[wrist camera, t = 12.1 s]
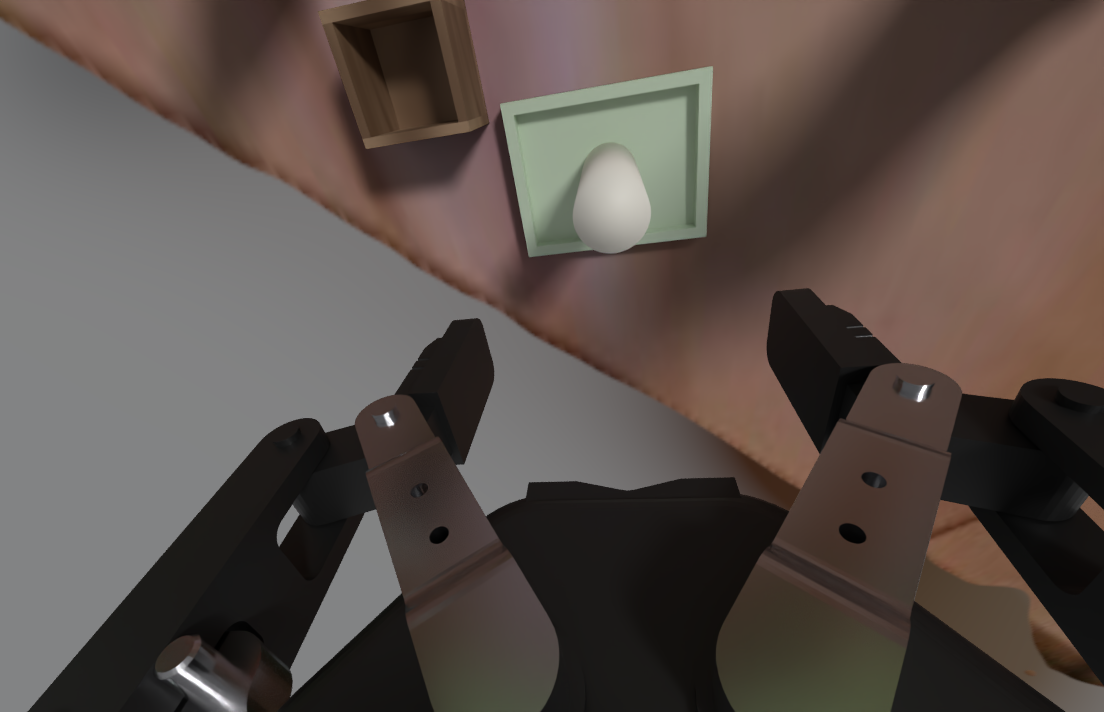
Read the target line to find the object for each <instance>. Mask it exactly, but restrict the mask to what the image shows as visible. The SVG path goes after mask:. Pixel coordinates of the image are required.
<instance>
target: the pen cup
mask: <svg viewBox="0 0 1104 712" xmlns="http://www.w3.org/2000/svg"><path fill="white" fill-rule="evenodd" d="M318 13H319V16H320V19H321V22H322V25H323V28H324V30H325V33H326V36H327V39H328V42H329V45H330V48H331V50H332V53H333V56H334V59H335V62H336V65H337V68H338V71H339V73H340V76H341V79H342V82H343V85H344V88H345V91H346V93H347V96H348V99H349V102H350V105H351V108H352V111H353V113H354V116H355V119H356V122H357V125H358V128H359V131H360V134H361V136H362V139H363V142H364V145H365V148H366V149H370V148H376V147H382V146H387V145H393V144H399V143H405V142H411V141H417V140H423V139H429V138H435V137H441V136H447V135H453V134H459V133H465V132H470V131H473V130H475V129H477V128H479V127H482V126H484V125H486V124H488V123H489V120H488V115H487V110H486V105H485V100H484V95H483V90H482V86H481V81H480V76H479V71H478V66H477V61H476V56H475V51H474V46H473V41H472V37H471V32H470V27H469V22H468V17H467V12H466V7H465V2H464V0H366V1H361V2H357V3H353V4H348V5H344V6H340V7H335V8H331V9H327V10H322V11H318Z"/></svg>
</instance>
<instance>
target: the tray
mask: <svg viewBox="0 0 1104 712" xmlns="http://www.w3.org/2000/svg"><path fill="white" fill-rule="evenodd" d="M712 77H713V66H712V67H704V68H698V69H692V70H687V71H681V72H675V73H670V74H664V75H658V76H653V77H647V78H642V79H636V80H630V81H625V82H619V83H613V84H608V85H602V86H596V87H591V88H585V89H580V90H574V91H568V92H563V93H557V94H551V95H546V96H540V97H534V98H529V99H523V100H518V101H512V102H506V103H502V104H500V107H501V112H502V117H503V123H504V128H505V133H506V138H507V144H508V149H509V154H510V160H511V165H512V170H513V176H514V181H515V186H516V191H517V197H518V202H519V207H520V213H521V218H522V223H523V229H524V234H525V239H526V244H527V250H528V255H529V257H535V256H544V255H552V254H561V253H570V252H578V251H587V250H593V249H591V248H590V247H588V246H587V245H586V244H584V243H583V242H582V240H581V239H580V238H579V236H578V235H577V233H576V231H575V228H574V224H573V208H574V204H575V199H576V195H577V191H578V186H579V182H580V178H581V173H582V169H583V165H584V162H585V159H586V157H587V156H588V154H589V153H590V152H591V151H592V150H593V149H594V148H595V147H597V146H598V145H600V144H603V143H608V142H615V143H619V144H621V145H623V146H625V147H626V148H627V149H628V150H629V151H630V152H631V153H632V155H633V156H634V159H635V161H636V164H637V167H638V170H639V173H640V176H641V178H642V181H643V184H644V187H645V190H646V193H647V196H648V198H649V202H650V206H651V218H650V223H649V226H648V229H647V231H646V232H645V234H644V236H643V237H642V238H641V240H640V241H639V242H638V243H636V244H635V245H639V244H647V243H656V242H664V241H673V240H682V239H690V238H699V237H706V234H707V208H708V182H709V156H710V129H711V103H712Z"/></svg>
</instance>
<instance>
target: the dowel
mask: <svg viewBox="0 0 1104 712" xmlns="http://www.w3.org/2000/svg"><path fill="white" fill-rule="evenodd" d="M650 218H651V206H650V202H649V198H648V196H647V193H646V190H645V187H644V184H643V181H642V178H641V176H640V173H639V170H638V167H637V164H636V161H635V159H634V156H633V155H632V153H631V152H630V151H629V150H628V149H627V148H626V147H625V146H623V145H621V144H619V143H615V142H608V143H603V144H600V145H598V146H597V147H595V148H594V149H593V150H592V151H591V152H590V153H589V154H588V156H587V157H586V159H585V162H584V165H583V169H582V173H581V178H580V182H579V186H578V191H577V195H576V199H575V204H574V208H573V224H574V228H575V231H576V233H577V235H578V236H579V238H580V239H581V240H582V242H583V243H584V244H586V245H587V246H588V247H590V248H591V249H593V250H595V251H598V252H601V253H609V254H610V253H619V252H622V251H625V250H627V249H629V248H631V247H633V246H634V245H635V244H636V243H638V242H639V241H640V240H641V238H642V237H643V236H644V234H645V232H646V231H647V229H648V226H649V223H650Z"/></svg>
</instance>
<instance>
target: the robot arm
mask: <svg viewBox="0 0 1104 712" xmlns="http://www.w3.org/2000/svg"><path fill="white" fill-rule="evenodd" d="M767 357H768V361H769V364H770V367H771V368H772V370H773V372H774V374H775V375H776V377H777V379H778V381H779V383H780V384H781V386H782V388H783V390H784V391H785V393H786V395H787V397H788V399H789V400H790V402H791V404H792V406H793V407H794V409H795V411H796V413H797V415H798V416H799V418H800V420H801V422H802V423H803V425H804V427H805V429H806V430H807V432H808V434H809V436H810V438H811V439H812V441H813V443H814V445H815V446H816V448H817V450H818V452H819V454H820V455H819V457H818V459H817V461H816V463H815V465H814V467H813V468H812V470H811V472H810V474H809V476H808V478H807V480H806V481H805V483H804V485H803V487H802V489H801V491H800V493H799V495H798V496H797V498H796V500H795V502H794V504H793V506H792V507H791V509H790V511H787V510H785V509H783V508H781V507H779V506H777V505H775V504H772V503H769V502H767V501H764V500H761V499H758V498H755V497H751V496H747V495H742V494H740V492H739V489H738V486H737V483H736V480H735V478H734V477H730V478H691V479H678V480H674V481H669V482H665V483H661V484H657V485H653V486H649V487H644V488H640V489H636V490H630V491H626V490H619V489H614V488H609V487H603V486H598V485H593V484H588V483H582V482H577V481H569V482H532V483H530V482H529V484H528V490H527V496H526V498H525V499H521V500H518V501H515V502H512V503H509V504H507V505H505V506H503V507H501V508H499V509H497V510H495V511H494V512H492V513H490V514H489V515H487V516H485V514H484V513H483V511H482V509H481V507H480V506H479V504H478V502H477V501H476V499H475V498H474V495H473V494H472V492H471V490H470V489H469V487H468V486H467V484H466V482H465V480H464V479H463V477H462V475H461V474H460V472H459V470H458V468H457V467H456V465H457V464H464V463H465V461H466V458H467V455H468V452H469V449H470V446H471V444H472V441H473V438H474V435H475V432H476V430H477V427H478V424H479V421H480V419H481V416H482V413H483V410H484V407H485V404H486V402H487V399H488V396H489V393H490V391H491V388H492V385H493V381H494V366H493V361H492V357H491V354H490V350H489V347H488V343H487V339H486V336H485V332H484V328H483V325H482V323H481V321H480V319H478V318H476V319H465V320H454V321H452V323H451V324H450V326H449V328H448V329H447V331H446V332H445V334H444V336H443V337H442V338H437V339H436V340H435V341H433V342H432V343H431V344H429V345H428V346H427V347H426V348H425V349H424V350H423V352H422V353H421V355H420V357H419V358H418V361H416V362H415V364H414V366H413V367H412V370H410V372H409V373H408V375H407V376H406V378H405V379H404V381H403V382H402V384H401V386H400V387H399V389H398V390H397V392H396V393H395V395H391V396H387V397H384V398H381V399H379V400H377V401H374V402H373V403H371V404H370V405H368V406H367V407H365V408H364V409H363V410H362V411H361V412H360V413H359V415H358V416H357V418H356V420H355V425H353V426H349V427H345V428H342V429H338V430H334V431H330V432H327V433H325V432H324V430H323V428H322V426H321V425H320V423H319V422H318V421H317V420H315V419H312V418H303V419H298V420H294V421H291V422H288V423H286V424H283V425H282V426H280V427H278V428H276V429H274V430H273V431H272V432H270V433H269V434H268V435H266V436H265V437H264V438H263V439H262V440H261V441H260V442H259V443H258V445H257V446H256V447H255V448H254V449H253V450H252V452H251V453H250V454H249V455H248V456H247V458H246V459H245V460H244V461H243V462H242V463H241V464H240V466H239V467H238V468H237V469H236V470H235V471H234V473H233V474H232V475H231V476H230V477H229V478H228V479H227V481H226V482H225V483H224V484H223V485H222V486H221V488H220V489H219V490H218V491H217V492H216V493H215V495H214V496H213V497H212V498H211V499H210V501H209V502H208V503H207V504H206V505H205V506H204V507H203V509H202V510H201V511H200V512H199V513H198V514H197V515H196V517H195V518H194V519H193V520H192V521H191V523H190V524H189V525H188V526H187V527H186V528H185V530H184V531H183V532H182V533H181V534H180V535H179V536H178V538H177V539H176V540H175V541H174V542H173V543H172V545H171V546H170V547H169V548H168V549H167V550H166V552H165V553H164V554H163V555H162V556H161V557H160V558H159V560H158V561H157V562H156V563H155V564H154V565H153V567H152V568H151V569H150V570H149V571H148V572H147V574H146V575H145V576H144V577H143V578H142V579H141V581H140V582H139V583H138V584H137V585H136V586H135V588H134V589H133V590H132V591H131V592H130V593H129V595H128V596H127V597H126V598H125V599H124V600H123V601H122V603H121V604H120V605H119V606H118V607H117V608H116V610H115V611H114V612H113V613H112V614H111V615H110V617H109V618H108V619H107V620H106V621H105V623H104V624H103V625H102V626H101V627H100V628H99V629H98V631H97V632H96V633H95V634H94V635H93V636H92V638H91V639H90V640H89V641H88V642H87V643H86V645H85V646H84V647H83V648H82V649H81V650H80V651H79V653H78V654H77V655H76V656H75V657H74V658H73V660H72V661H71V662H70V663H69V664H68V665H67V667H66V668H65V669H64V670H63V671H62V672H61V674H60V675H59V676H58V677H57V678H56V679H55V680H54V682H53V683H52V684H51V685H50V686H49V687H48V689H47V690H46V691H45V692H44V693H43V695H42V696H41V697H40V698H39V699H38V700H37V701H36V703H35V704H34V705H33V706H32V707H31V708H30V710H29V711H28V712H1065V711H1064V710H1062V709H1061V708H1060V707H1058V706H1057V705H1055V704H1054V703H1053V702H1051V701H1050V700H1049V699H1047V698H1046V697H1045V696H1043V695H1042V694H1040V693H1039V692H1038V691H1036V690H1035V689H1034V688H1032V687H1031V686H1029V685H1028V684H1027V683H1025V682H1024V681H1023V680H1021V679H1020V678H1019V677H1017V676H1016V675H1015V674H1013V673H1012V672H1010V671H1009V670H1008V669H1006V668H1005V667H1004V666H1002V665H1001V664H1000V663H998V662H997V661H995V660H994V659H992V658H991V657H990V656H989V655H987V654H986V653H985V652H983V651H982V650H980V649H979V648H978V647H976V646H975V645H974V644H972V643H971V642H969V641H968V640H967V639H965V638H964V637H962V636H961V635H960V634H959V633H957V632H956V631H955V630H953V629H952V628H950V627H949V626H948V625H946V624H945V623H944V622H942V621H941V620H939V619H938V618H937V617H935V616H934V615H933V614H931V613H930V612H929V611H927V610H926V609H925V608H923V607H922V606H920V605H919V604H918V603H916V602H915V601H914V598H915V595H916V591H917V587H918V583H919V579H920V575H921V572H922V568H923V564H924V560H925V556H926V552H927V548H928V544H929V541H930V537H931V533H932V529H933V525H934V521H935V517H936V513H937V510H938V506H939V502H940V500H944V501H949V502H954V503H959V504H964V505H968V506H969V507H970V509H971V510H972V511H973V513H974V514H975V515H976V517H977V518H978V519H979V521H980V522H981V523H982V525H983V526H984V527H985V529H986V530H987V531H988V533H989V534H990V535H991V537H992V538H993V539H994V541H995V542H996V543H997V545H998V546H999V547H1000V549H1001V550H1002V551H1003V553H1004V554H1005V555H1006V557H1007V558H1008V559H1009V561H1010V562H1011V563H1012V565H1013V566H1014V567H1015V569H1016V570H1017V571H1018V572H1019V574H1020V575H1021V576H1022V578H1023V579H1024V580H1025V582H1026V583H1027V584H1028V586H1029V587H1030V588H1031V590H1032V591H1033V592H1034V594H1035V595H1036V596H1037V598H1038V599H1039V600H1040V602H1041V603H1042V604H1043V606H1044V607H1045V608H1046V610H1047V611H1048V612H1049V614H1050V615H1051V616H1052V618H1053V619H1054V620H1055V622H1056V623H1057V624H1058V626H1059V627H1060V628H1061V630H1062V631H1063V632H1064V633H1065V635H1066V636H1067V637H1068V639H1069V640H1070V641H1071V643H1072V644H1073V645H1074V647H1075V648H1076V649H1077V651H1078V652H1079V653H1080V655H1081V656H1082V657H1083V659H1084V660H1085V661H1086V663H1087V664H1088V665H1089V667H1090V668H1091V669H1092V671H1093V672H1094V673H1095V675H1096V676H1097V677H1098V679H1099V680H1100V681H1101V683H1102V684H1103V685H1104V531H1103V530H1102V529H1101V528H1100V527H1099V526H1098V525H1097V524H1096V523H1095V522H1094V521H1093V520H1092V519H1091V518H1090V517H1089V516H1088V515H1087V514H1086V513H1085V512H1084V511H1083V510H1082V509H1081V508H1080V507H1081V505H1082V504H1083V503H1084V501H1085V500H1086V499H1087V497H1088V496H1090V497H1091V498H1092V499H1093V500H1094V501H1095V502H1096V503H1097V504H1098V505H1099V506H1101V507H1102V508H1103V509H1104V389H1103V388H1100V387H1097V386H1094V385H1090V384H1087V383H1082V382H1078V381H1072V380H1066V379H1056V378H1045V379H1036V380H1031V381H1029V382H1026V383H1025V384H1023V386H1022V387H1021V389H1020V391H1019V393H1018V394H1017V396H1016V398H1015V400H1009V399H1001V398H993V397H984V396H976V395H968V394H962V390H961V388H960V386H959V385H958V384H957V383H956V382H955V381H954V380H953V379H951V378H950V377H948V376H947V375H945V374H943V373H941V372H939V371H936V370H934V369H931V368H928V367H924V366H920V365H914V364H907V363H901V362H900V361H899V360H898V359H897V358H896V357H895V356H894V355H893V354H892V353H891V352H890V351H889V350H888V349H887V348H886V347H885V346H884V345H883V344H882V343H881V342H880V341H879V340H878V339H877V338H876V337H873V336H872V333H871V332H870V331H869V330H868V329H867V328H866V327H863V325H862V324H861V323H860V322H859V321H858V320H857V319H856V318H855V317H854V316H853V315H852V314H851V313H849V312H847V311H844V310H842V309H840V308H838V307H836V306H834V305H827V306H826V305H825V304H824V303H823V302H822V301H821V300H820V299H819V298H818V297H817V296H816V295H815V293H814V292H813V291H812V290H811V289H809V288H806V289H795V290H784V291H777V292H776V293H775V294H774V296H773V300H772V307H771V315H770V322H769V330H768V338H767ZM292 504H293V505H294V507H295V508H296V510H297V511H298V512H299V514H300V515H299V516H298V518H297V520H296V521H295V523H294V524H293V526H292V527H291V529H290V531H289V532H288V534H287V535H286V537H285V539H284V540H283V542H282V544H281V545H280V547H279V546H278V544H277V530H278V527H279V525H280V522H281V520H282V519H283V518H284V516H285V515H286V513H287V512H288V510H289V509H290V507H291V506H292ZM375 509H376V510H377V513H378V516H379V519H380V523H381V526H382V529H383V532H384V536H385V539H386V542H387V545H388V549H389V552H390V555H391V558H392V562H393V565H394V568H395V571H396V575H397V578H398V581H399V584H400V588H401V591H402V594H401V595H400V596H398V597H397V598H396V599H395V600H394V601H393V602H392V603H391V604H390V605H389V606H388V607H387V608H386V609H384V610H383V611H382V612H381V613H380V614H379V615H378V616H377V617H376V618H375V619H374V620H373V621H372V622H371V623H370V624H368V625H367V626H366V627H365V628H364V629H363V630H362V631H361V632H360V633H359V634H358V635H357V636H356V637H354V638H353V639H352V640H351V641H350V642H349V643H348V644H347V645H346V646H345V647H344V648H343V649H342V650H341V651H339V652H338V653H337V654H336V655H335V656H334V657H333V658H332V659H331V660H330V661H329V662H328V663H327V664H326V665H324V666H323V667H322V668H321V669H320V670H319V671H318V672H317V673H316V674H315V675H314V676H313V677H312V678H310V679H309V680H308V681H307V682H306V683H305V684H304V685H303V686H302V687H301V688H300V689H299V690H298V691H297V692H295V693H294V695H292V696H291V692H292V683H293V680H292V674H291V671H290V668H291V666H292V663H293V662H294V660H295V657H296V655H297V653H298V651H299V649H300V647H301V645H302V643H303V640H304V639H305V637H306V634H307V632H308V630H309V628H310V626H311V624H312V622H313V620H314V618H315V616H316V614H317V612H318V609H319V607H320V605H321V603H322V601H323V599H324V597H325V595H326V593H327V591H328V588H329V586H330V584H331V582H332V580H333V578H334V576H335V574H336V572H337V570H338V568H339V566H340V563H341V561H342V559H343V557H344V555H345V553H346V551H347V548H348V547H349V545H350V543H351V540H352V538H353V536H354V534H355V532H356V530H357V528H358V526H359V524H360V521H361V520H362V518H363V515H364V513H365V512H368V511H371V510H375ZM290 696H291V697H290Z"/></svg>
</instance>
